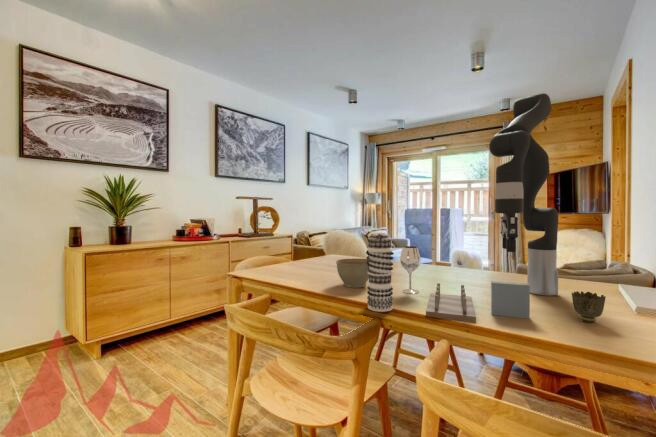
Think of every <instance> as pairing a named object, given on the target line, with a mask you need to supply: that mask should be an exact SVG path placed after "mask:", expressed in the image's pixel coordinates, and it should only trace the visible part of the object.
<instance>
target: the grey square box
mask: <svg viewBox="0 0 656 437" xmlns="http://www.w3.org/2000/svg"><path fill="white" fill-rule="evenodd" d="M530 294H531V293H530V285H529V284H527V283H523V282H522V283H521V282H510V281H494V280H491V281H490V313H491V315H494V316H502V317H503V316H505V317H513V318H522V319H530V317H531V316H530V313H531V312H530V311H531V310H530V309H531V308H530V305H531V304H530V298H531V296H530Z"/></svg>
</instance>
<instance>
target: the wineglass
mask: <svg viewBox="0 0 656 437" xmlns="http://www.w3.org/2000/svg"><path fill="white" fill-rule="evenodd" d="M421 259H422V258H421V255H420V250H419V247H418V246H414V245H413V246H411V245H410V246H409V245H408V246H407V245H405V246H403V247H402V249H401V252H400V257H399V264H400V265H401V267H402V268H403V269H404V270H405V271H407V273H408V276H409V277H408V284H409V285H408V288H405V289H404V288H403V289H402V290H401V291H402V292H403V293H405V294H410V295H411V294H412V295H415V294H416V295H417V294H419V290H417V289H412V274H413V272H415V271H416V270H417V269H418V268H419V267H420V265H421V262H422V260H421Z"/></svg>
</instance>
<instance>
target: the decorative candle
mask: <svg viewBox="0 0 656 437" xmlns="http://www.w3.org/2000/svg"><path fill="white" fill-rule="evenodd" d="M367 239H368V247H367V250H366V252H365V253H366V255H367V256H366V258H365V259H367V260H368V261H367V265H368V266H369V267H367V270H368V272H367V273H368V274H369V279H368V281H367V284H368V285H367V294H368V295H367V298H366V299H367V302H366V303H367V309H368V310H371V311H373V312H378V313H379V312H390V311H392V310H393V309H394V307H393V304H394V302H393V301H394V298H393V294H394V293H393V289H394V287H393V281H392V275H393V271H392V270H394V268H393V267H392V266H394V262H392V261H393V260H394V259H395V258H394V257H393V256H394V254H395V253H394V252H393V251H392V250H393V248H392V238H391V237H390V235H389V233H382V232H381V233H380V232H379V233H378V232H376V233H371V234H370V235H369V237H367Z"/></svg>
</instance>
